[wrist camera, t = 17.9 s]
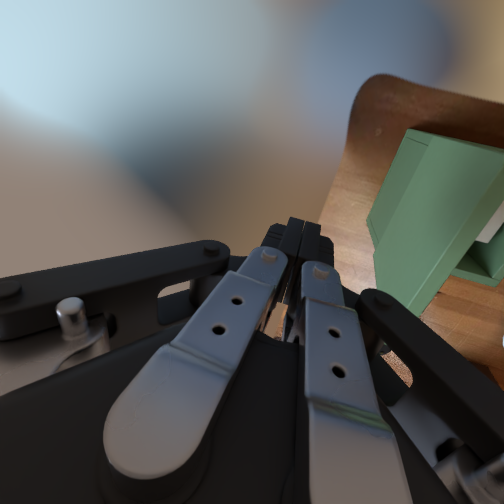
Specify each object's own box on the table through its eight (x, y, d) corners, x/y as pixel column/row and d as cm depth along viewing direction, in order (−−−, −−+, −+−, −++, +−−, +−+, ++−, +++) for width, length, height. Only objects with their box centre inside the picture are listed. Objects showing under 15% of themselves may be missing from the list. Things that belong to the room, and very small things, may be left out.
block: (485, 181, 26) (522, 198, 21) (460, 220, 29) (487, 243, 24) (440, 170, 27) (465, 185, 22) (419, 209, 29) (437, 230, 24)
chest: (519, 152, 25) (597, 170, 18) (455, 244, 31) (495, 287, 23) (407, 127, 27) (437, 135, 19) (365, 220, 32) (376, 254, 25)
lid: (534, 160, 9) (509, 154, 10) (396, 349, 15) (382, 343, 15) (445, 137, 19) (433, 134, 19) (381, 257, 24) (372, 255, 24)
